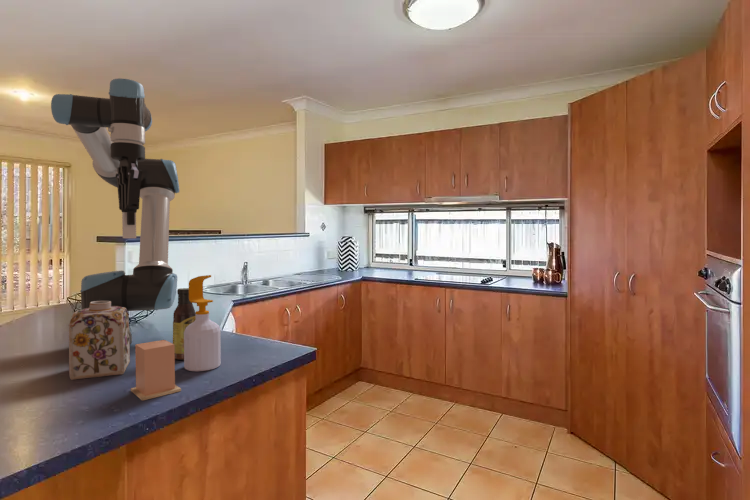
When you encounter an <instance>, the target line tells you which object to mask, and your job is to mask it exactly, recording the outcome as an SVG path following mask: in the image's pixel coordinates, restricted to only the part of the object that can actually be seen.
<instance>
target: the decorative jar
mask: <svg viewBox="0 0 750 500" xmlns="http://www.w3.org/2000/svg"><path fill="white" fill-rule="evenodd" d="M129 315H130V314H129V311H127V309H126V308H125V307H120V306H111V301H93V302H90V306H89V308H85V309H78V310H76V311H74V312H73V313H72V316H71V319H70V321H69V324H68V368H69V369H68V370H69V371H68V372H69V373H68V374H69V378H70V380H72V381H74V380H83V379H89V378H90V379H91V378H101V377H102V378H103V377H109V376H118V375H119V376H120V375H121V376H122V375H124V374H125V372H126V370H127V368H128V366H129V364H130V362H131V359H130V358H131V355H130V353H131V352H130V351H131V350H130V349H131V348H130V346H131V344H130V339H129V330H130V321H129V320H130V319H129Z"/></svg>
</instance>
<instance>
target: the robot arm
mask: <svg viewBox="0 0 750 500" xmlns="http://www.w3.org/2000/svg"><path fill="white" fill-rule="evenodd" d="M108 95H109V98H107V97H106V98H105V97H98V96H97V97H95V96H87V95H79V94H78V95H77V94H73V93H72V94H71V93H69V94H66V93H65V94H64V93H56V94H54V95H53V96H52V98H51V101H50V109H51V110H50V111H51V115H52V117H53V118H52V119H54V121H55V122H56V123H57V124H62V125H66V126H69V125H70V126H71V127H72V129H73V130H74V132H75V134H76V135H77V137H78V139H79V140H80V142H81V144H82V145H83V147H84V149H85V150H86V152H87V153H88V155H89V156H90V157H89V158H91V160H92V169H93V170H94V171H95V172H96V174H97V175H98V176H99V178H101V179H102V180H103V181H105V182H106V183H107V184H108V185H111V186H113V187H115V188H117V197H118V208H119V210H120V211H121V214H122V217H121V218H122V219H121V220H122V222H121V224H122V226H121V227H122V229H121V230H122V239H137V211H138V210H139V209H140V201H141V200H142V201H141V217H140V218H141V219H140V237H139V238H140V240H139V256H138V264H137V265H136V266H135V267H134V268H133V269H132V270H133V271H132V272H133V273H132V274H126V272H125V271H124V270H114V271H105V272H100V273H99V272H98V273H94V274H89V275H85V276H84V277H82V279H81V281H80V282H81V285H80V286H81V287H80V291H79V292H80V301H81V302H80V305H81V309H85V308H89V306H90V302H93V301H111V306H120V307H125V308H126V309H127V311H128V312H137V311H138V312H139V311H141V312H143V311H159V310H167V309H168V310H169V309H170V308H171V307H172V306H173V305H174V303H175V299H176V294H177V291H178V275H177V274H176V273H173V271H174V270H173V268H172V267H171V266H170V265H169V240H170V239H169V238H170V237H169V236H170V235H169V234H170V209H171V207H170V206H171V205H170V204H171V201H173V200H174V199H175V195H176V194H179V193H180V183H179V177H178V171H177V165H176V163H175V162H174V161H173V160H170V159H163V158H160V159H157V158H146V147H145V146H144V145H145V144H146V132H147V131H148V130H150V129H151V126H152V124H153V117H152V113H151V111H150V110H149V108H148V107H147V106H146V103H145V98H146V95H145V89H144V86H143V83H140V82H138V81H137V80H133V79H130V78H129V79H128V78H121V77H119V78H114V79H111V80H110V82H109V91H108ZM109 132H110V133H109ZM140 199H141V200H140ZM81 309H80V310H81ZM129 339H130V345H131V344H132V343H133V337H132V333H131V329H129Z"/></svg>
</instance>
